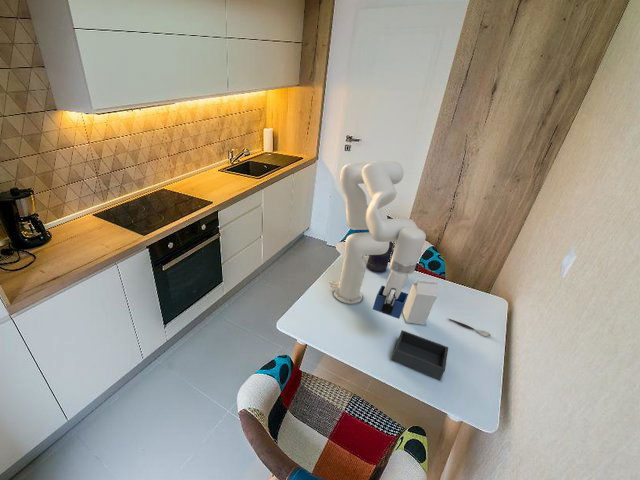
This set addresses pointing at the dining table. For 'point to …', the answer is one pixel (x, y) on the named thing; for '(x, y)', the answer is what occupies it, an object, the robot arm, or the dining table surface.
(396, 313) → the nested bin
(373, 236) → the robot arm
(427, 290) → the milk carton
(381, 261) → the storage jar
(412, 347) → the base bin
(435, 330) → the dining table surface
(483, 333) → the fork
